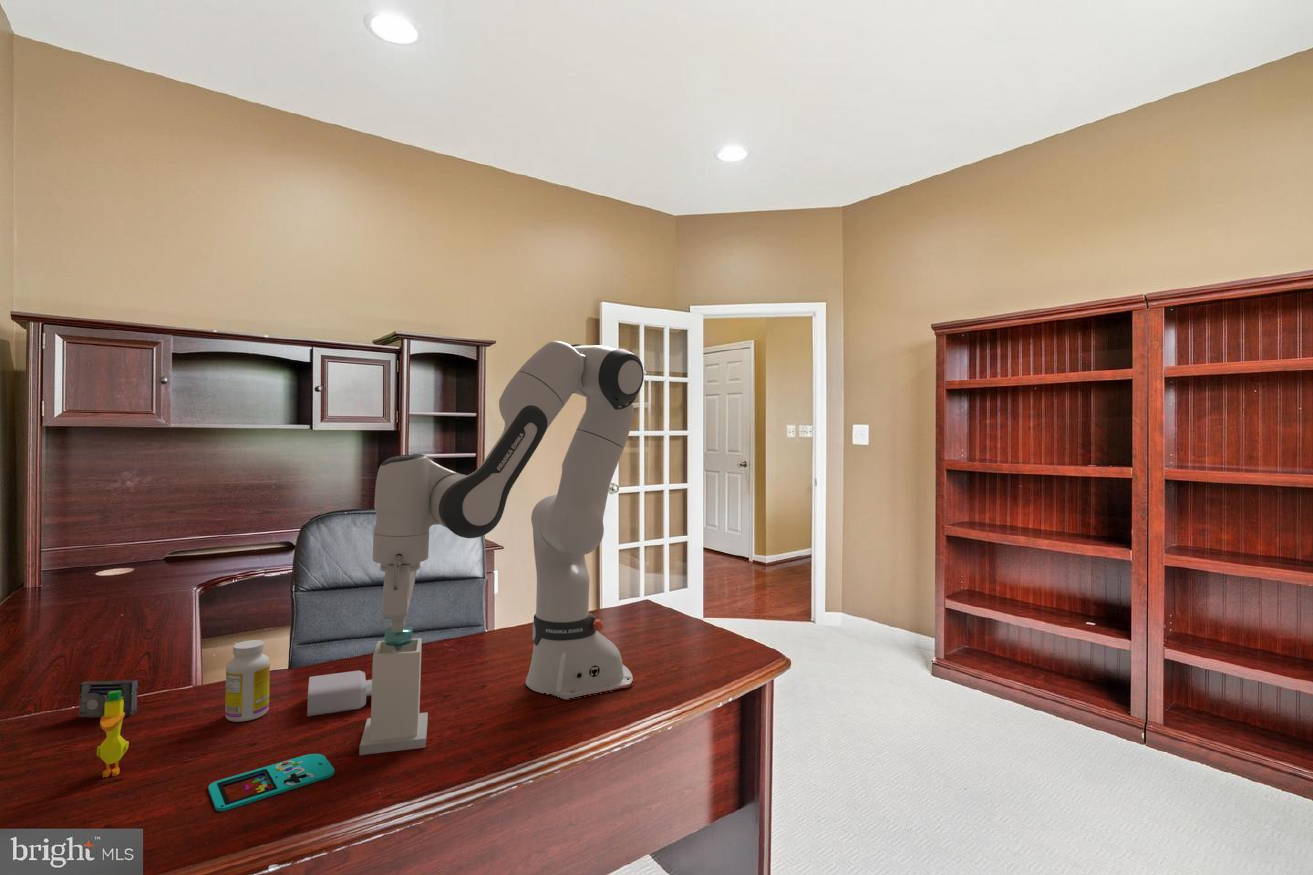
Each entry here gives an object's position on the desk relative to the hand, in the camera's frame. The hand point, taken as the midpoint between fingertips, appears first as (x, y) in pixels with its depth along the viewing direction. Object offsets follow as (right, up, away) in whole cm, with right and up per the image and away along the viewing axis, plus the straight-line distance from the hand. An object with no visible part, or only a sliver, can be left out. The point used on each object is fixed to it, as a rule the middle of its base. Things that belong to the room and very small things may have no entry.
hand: (398, 630), depth 107 cm
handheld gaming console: (-13, -19, -14) cm, 26 cm away
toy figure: (-37, -17, -14) cm, 43 cm away
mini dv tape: (-53, -17, +4) cm, 56 cm away
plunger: (0, -12, 0) cm, 12 cm away
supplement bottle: (-30, -17, +6) cm, 35 cm away
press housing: (-1, -18, 0) cm, 18 cm away
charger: (-14, -18, +13) cm, 27 cm away
